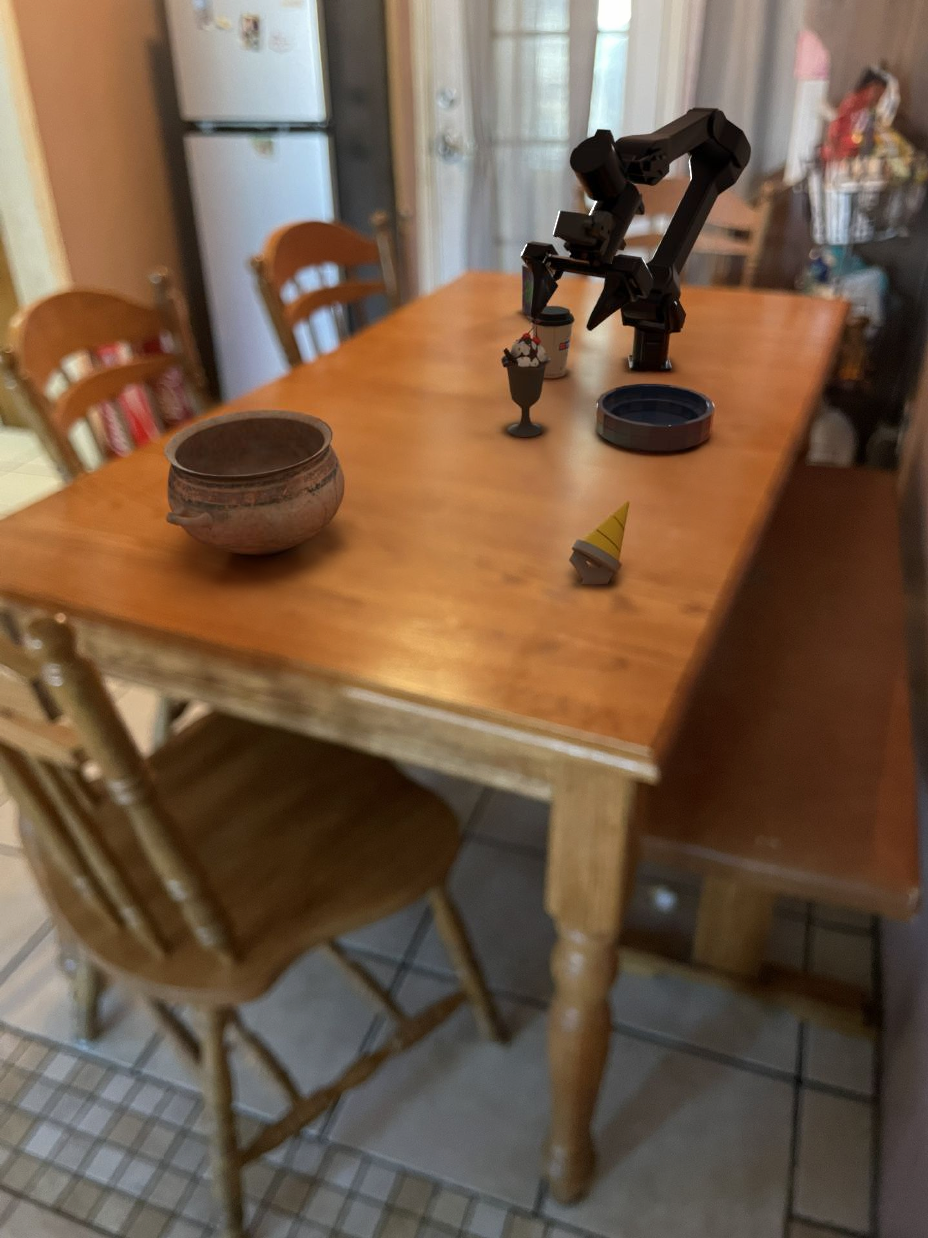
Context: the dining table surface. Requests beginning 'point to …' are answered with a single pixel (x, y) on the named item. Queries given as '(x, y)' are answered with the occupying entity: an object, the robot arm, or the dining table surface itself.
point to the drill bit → (601, 549)
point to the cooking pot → (254, 480)
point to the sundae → (525, 379)
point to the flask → (527, 290)
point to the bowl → (654, 417)
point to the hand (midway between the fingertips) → (559, 323)
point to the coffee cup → (554, 337)
